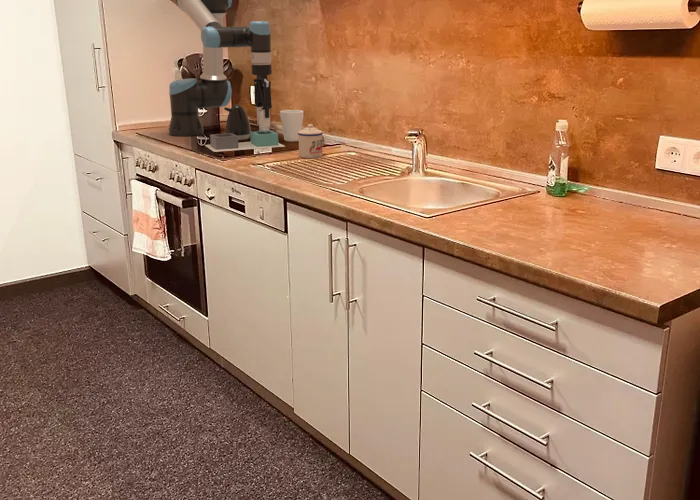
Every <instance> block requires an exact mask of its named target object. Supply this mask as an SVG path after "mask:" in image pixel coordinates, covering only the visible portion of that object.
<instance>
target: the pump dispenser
mask: <svg viewBox="0 0 700 500" xmlns="http://www.w3.org/2000/svg"><path fill="white" fill-rule="evenodd" d="M223 109H224V111H227V112H228V114H227V119H226V123H225V134H226V133H233V134H235V135H236V136H238V141H244V140H248V139H250V138H251V136H250V132H252V131H251V130H252V129H251V124H250V120H249V117H248V115H247V112H246V110H245V109H244V107H243V106H242V105H240V104H234V105H232V107H226V106H224V108H223Z"/></svg>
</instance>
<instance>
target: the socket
mask: <svg viewBox="0 0 700 500" xmlns="http://www.w3.org/2000/svg"><path fill="white" fill-rule="evenodd" d="M269 132H270V134H259V130H258V131H257V130H256V131H251V132H250V142H251V144H253V145H255V146H257V147H260V146H273V145H279V144H278V143H279V133H278V132H275V131H273V130H269Z"/></svg>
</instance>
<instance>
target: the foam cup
mask: <svg viewBox="0 0 700 500" xmlns="http://www.w3.org/2000/svg"><path fill="white" fill-rule="evenodd" d="M304 113H305V112H304V110H301V109H283V110H280V111H279V116H280V117H279V118H280V120H281V128H282V134H283V139H284V141H286V142H299V135H298V132H299V131H300V130H303V124H304V123H303V122H304V121H303V120H304Z"/></svg>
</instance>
